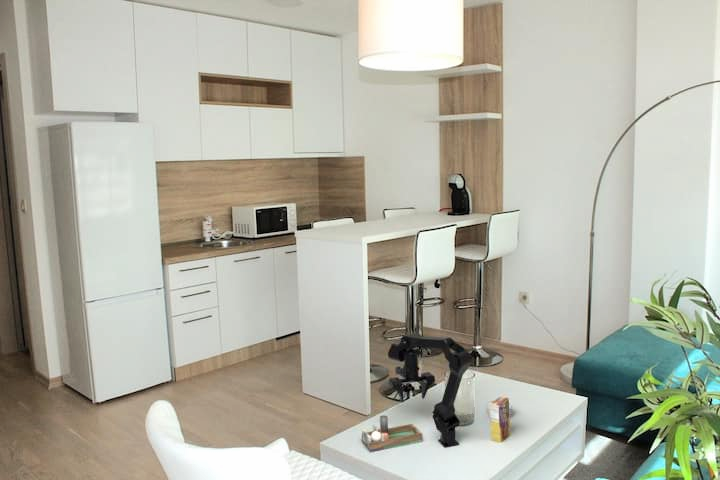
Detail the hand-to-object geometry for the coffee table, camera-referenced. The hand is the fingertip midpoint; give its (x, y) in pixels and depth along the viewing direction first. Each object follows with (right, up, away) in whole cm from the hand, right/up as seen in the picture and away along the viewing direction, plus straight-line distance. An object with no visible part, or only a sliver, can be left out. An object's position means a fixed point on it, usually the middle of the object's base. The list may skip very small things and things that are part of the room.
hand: (412, 400), depth 250 cm
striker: (-12, -13, -9) cm, 20 cm away
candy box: (+34, -13, -9) cm, 38 cm away
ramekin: (+38, -10, +11) cm, 41 cm away
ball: (-15, -12, -10) cm, 22 cm away
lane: (-9, -15, -8) cm, 19 cm away
